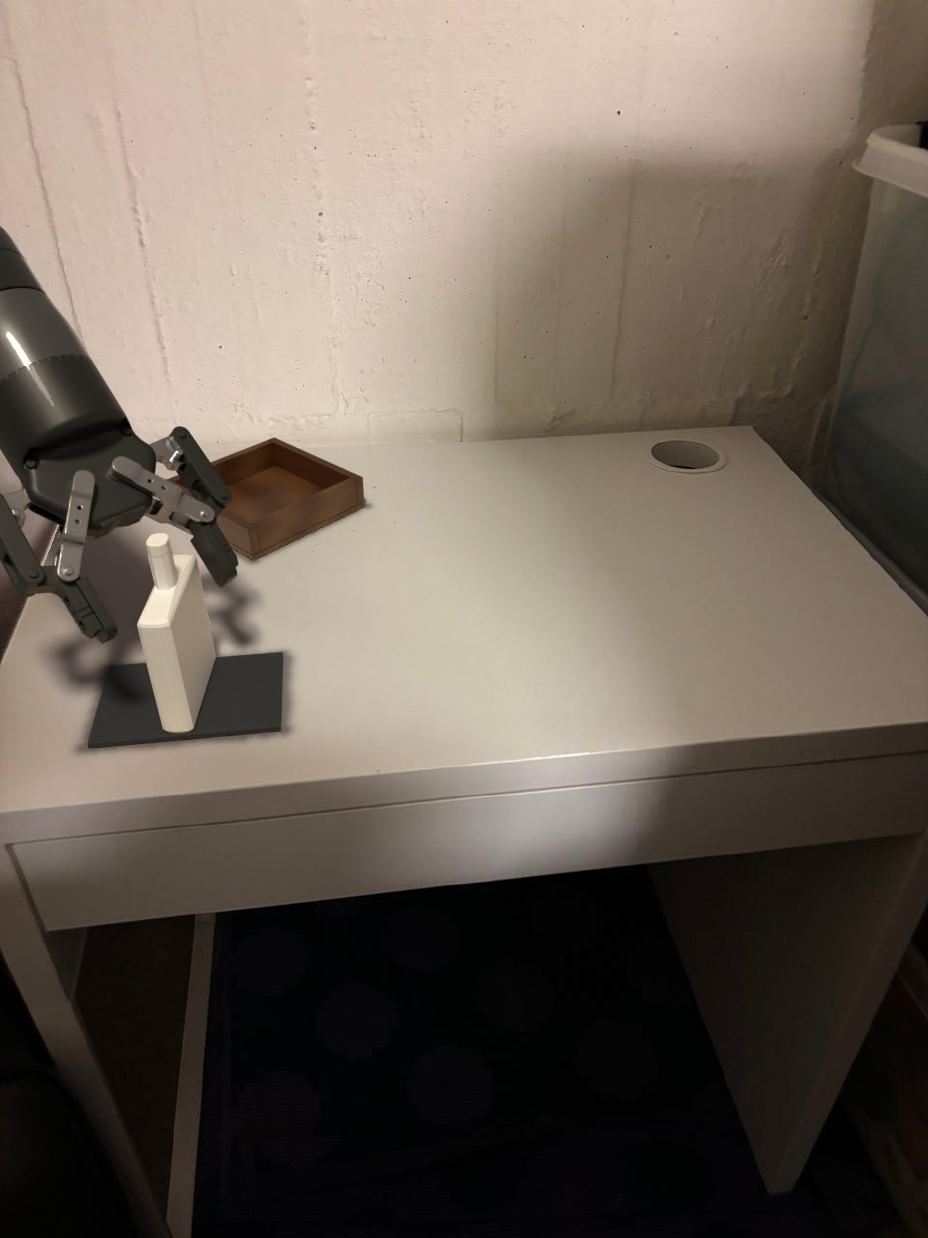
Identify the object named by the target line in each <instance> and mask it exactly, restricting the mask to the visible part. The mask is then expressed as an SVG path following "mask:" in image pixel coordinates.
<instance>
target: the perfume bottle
mask: <svg viewBox="0 0 928 1238" xmlns="http://www.w3.org/2000/svg"><path fill="white" fill-rule="evenodd" d="M145 546H146V549H147V557H148V561H149V566H150V571H151V575H152V579H153V584H154V585H153V587H152V589H151V592H150V594H149V597H148V598H147V601H146V603H145V605H144V608H143V610H142V612H141V614H140V617H139V619H138V621H137V623H136V628H137V632H138V635H139V640H140V645H141V648H142V651H143V656H144V659H145V663H146V664H147V667H148V671H149V675H150V679H151V683H152V687H153V691H154V695H155V699H156V703H157V707H158V711H159V715H160V719H161V723H162V727H163V729H164V730H165V731H167V732H169V733H186V732H189V731H192V730H193V729H194V726H195V723H196V719H197V716H198V713H199V710H200V707H201V703H202V700H203V697H204V694H205V691H206V687H207V684H208V681H209V678H210V675H211V671H212V668H213V665H214V662H215V659H216V657H217V653H216V649H215V643H214V639H213V635H212V634H213V633H212V629H211V623H210V619H209V614H208V608H207V604H206V603H207V602H206V597H205V593H204V587H203V582H202V578H201V573H200V567H199V562H198V558H197V556H196V555H194V554H189V553H182V554H181V553H180V554H179V553H177V554H173V549H172V545H171V541H170V536H169V534H167V533H166V532H156V533H154V534H151V535H149V536H148V537H147V540H146V541H145Z"/></svg>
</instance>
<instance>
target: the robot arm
mask: <svg viewBox="0 0 928 1238" xmlns="http://www.w3.org/2000/svg"><path fill="white" fill-rule="evenodd" d="M0 452H1V453H2V455H3V456H4V458H5V460H6V461H7V463H8V464H9V466H10V468H11V469H12V471H13V473H14V474H15V476H17V478H18V480H19V481H20V484H21V489H19V490H15V491H12V492H8V493H4V494H2V493H1V492H0V563H1V564H2V566H3V569H4V570H5V572H6V574H7V575H8V577H9V580H10V582H11V583H12V585H13V587H14V589H15V590H16V593H18V595H19V596H21V597H23V598H32V597H34V596H35V595H37V594H38V595H39V594H52V595H55V596H57V597H59V599H60V600H61V602H62V603H63V604H64V606H65V607H66V609H67V611H68V613H69V614H70V616H71V617H72V619H73V621H74V622H75V624H76V625H77V627H78V629H79V630H80V632H81V633H82V635H84V636H85V637H87V638H88V639H89V640H92V639H94V638H96V639H97V641H98V642H99V643H100V644H102V645H104V644H106V643H108V642H110V641H112V640H114V639H115V638H116V637H117V635H118V634H119V632H120V631H119V627H118V624H117V623H116V621H115V620H114V618H113V616H112V615H111V614H110V611H109V610H108V608H107V606H106V605H105V604H104V602H103V600H102V599H101V597H100V596H99V594H98V592H97V591H96V589H95V587H94V586H93V584H92V583H91V580H89V578H88V576H86V577H83V578H82V577H81V575H80V571H81V565H82V560H83V551H84V547H85V544H86V539H87V538H93V539H94V540H95V541H96V540H99V539H101V538H103V537H106V536H107V535H108V534H110V533H111V532H112V531H114V530H115V529H118V528H124V527H130V526H132V525H135V524H137V523H139V522H140V521H141V520H142V519H143V518H144V517H146V518H148V519H150V520H152V521H154V522H156V523H158V524H163V525H164V524H168V525H170V526H173V527H175V528H177V529H178V530H180V531H183V532H185V533H187V534H189V535H191V536H192V538H191V539H190V540H189V541H190V543H191V545H192V547H193V548H194V549H195V551H196V553H197V555H198V556H199V558H200V560H201V561H202V563H203V565H204V567H206V569H207V571H208V573H209V574H210V576H211V577H212V579H213V580H214V582H215V584H216V585H217V586H218V587H219V588H222V587H225V586H226V585H228V584H230V583H232V581H234V580H235V579H236V578H237V576H238V570H237V567H238V566H239V564H240V563H239V560H238V559H239V558H238V556H237V554H236V553H235V551H234V549H233V548H231V546H230V545H229V543H228V541H227V540H226V538H225V536H224V535H223V533H222V532H221V530H220V528H219V527H218V525H217V517H218V516H219V515H220V514H221V513H222V511H223V510H224V509H225V507H226V506H227V505H228V504H229V503H230V502H231V500H232V493H231V491H230V490H229V489H228V487H227V486H226V484H225V483H224V481H223V480H222V478H221V477H220V475H219V474H218V473H217V471H216V470H215V468H214V467H213V465H212V464H211V462H212V461H210V460H209V458H208V457H207V455H206V454H205V452H204V450H203V449H202V448H201V446H200V445H199V443H198V442H197V440H196V439H195V438H194V436H193V435H192V434H191V431H190V430H189V429H188V428H187V427H185V426H181V425H178V426H175V427H174V428H173V429H172V430H171V432H170V433H169V435H168V436H167V435H166V436H165V437H163V438H161V439H158V440H156V441H153V442H152V443H147V442H146V441H144V440H143V439H142V438H140V436H138V435H137V434H136V432H135V431H134V430H133V427H132V425H131V423H130V420H129V418H128V416H127V414H126V412H125V411H124V409H123V408H122V406H121V404H120V403H119V401H118V399H117V398H116V396H115V395H114V393H113V392H112V390H111V389H110V387H109V385H108V383H107V382H106V380H105V379H104V377H103V375H102V373H101V372H100V370H99V368H98V367H97V365H96V363H94V361H93V359H92V358H91V355H90V354H89V352H88V351H87V350H86V348H85V346H84V344H83V343H82V341H81V339H80V338H79V336H78V334H77V333H76V331H75V330H74V328H73V327H72V325H71V323H69V321H68V319H66V318H65V316H64V314H63V313H61V311H59V309H58V308H57V307H56V305H55V304H54V302H53V301H52V300H51V298H50V297H49V296H48V294H47V292H46V290H45V289H44V287H43V286H42V283H41V282H40V281H39V279H38V278H37V276H36V274H35V273H34V272H33V269H32V268H31V267H30V265H29V263H28V262H27V259H26V258H25V256H24V254H23V253H22V251H21V250H20V248H19V246H18V245H17V244H16V242H15V240H14V239H13V238H12V236H11V235H10V234H9V232H7V230H6V229H5V228H3V227H2V226H1V225H0ZM157 463H160V464H162V465H163V466H164V467H165V468H166V470H168V471H169V472H170V471H172V472H174V471H175V473H176V475H179V477H180V478H181V479H182V481H183V482H184V484H185V485H186V487H187V488H188V490H189V491H190V492H191V494H192V495H193V497H194V498H195V499H194V498H192V497H190V496H188V495H187V494H185V493H184V491H183V489H182V488H181V487H179V486H177V485H175V484H173V483H171V482H169V481H167V480H166V478H163V477H162V476H160V475H158V474H156V469H157ZM26 510H29V511H30V512H32V513H34V514H36V515H38V516H40V517H42V518H43V519H46V520H47V521H50V522H52V523H54V524H56V525H58V527H57V533H56V539H55V540H56V541H55V546H54V553H53V564H52V565H41V563H40V561H39V559H38V557H37V555H36V553H35V552H34V550H33V548H32V546H31V544H30V543H29V540H28V539H27V537H26V535H25V533H24V532H23V528H24V525H25V522H26V520H27V516H26V514H25V511H26Z"/></svg>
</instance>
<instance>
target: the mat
mask: <svg viewBox="0 0 928 1238" xmlns="http://www.w3.org/2000/svg"><path fill="white" fill-rule="evenodd" d="M283 670H284V653H283V651H276V652H265V653H264V652H263V653H262V652H261V653H251V654H250V653H249V654H238V655H228V656H227V655H226V656H216V659H215V662H214V665H213V668H212V671H211V675H210V678H209V681H208V684H207V687H206V691H205V694H204V697H203V700H202V703H201V707H200V710H199V713H198V716H197V719H196V723H195V726H194V729H193V730H192V731H189V732H186V733H169V732H167V731H165V730H164V729H163V727H162V723H161V719H160V715H159V711H158V707H157V703H156V699H155V695H154V691H153V687H152V683H151V679H150V675H149V671H148V667H147V664H146V662H140V663H127V664H126V663H125V664H115V665H108V668H107V672H106V675H105V678H104V682H103V685H102V690H101V692H100V697H99V700H98V704H97V708H96V711H95V715H94V718H93V722H92V726H91V728H90V733H89V736H88V739H87V748H88V749H95V748H106V747H117V746H127V745H128V746H130V745H139V744H150V743H151V744H152V743H161V742H172V741H184V740H193V739H195V740H196V739H205V738H206V739H207V738H218V737H228V736H229V737H230V736H238V735H249V734H261V733H272V732H281V730H282V704H283V703H282V701H283Z"/></svg>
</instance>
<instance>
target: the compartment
mask: <svg viewBox="0 0 928 1238" xmlns="http://www.w3.org/2000/svg"><path fill="white" fill-rule="evenodd" d="M210 462H211V464H212V465H213V467H214V468H215V470H216V471H217V473H218V474H219V475H220V477H221V478H222V480H223V481H224V483H225V484H226V486H227V487H228V489H229V490H230V491H231V493H232V500H231V502H230V503H229V504H228V505H227V506H226V507H225V509H224V510H223V511H222V513H221V514H220V515H219V516H218V517H217V525H218V527H219V528H220V530H221V532H222V533H223V535H224V536H225V538H226V540H227V541H228V543H229V545H230V546H231V548H232V550H235V551H236V552H238V553H240V554H242V555H243V556H245V557H247V558H248V559H250V560H252V561H255V560H257V559H260V558H261V557H263V556H266V555H268V554H270V553H273V551H276V550H278V549H280V548H282V547H284V546H286V545H288V544H290V543H292V542H294V541H297V540H299V539H301V538H303V537H304V536H307V535H310V534H311V533H313V532H315V531H317V530H319V529H321V528H323V527H325V526H328V525H329V524H331V523H334V522H336V521H338V520H340V519H342V518H344V517H346V516H348V515H350V514H352V513H354V512H357V511H359V510H360V509H363V508H365V507H366V505H365V489H364V477H363V476H361V475H359V474H357V473H355V472H352V471H351V470H348V469H346V468H344V467H341V466H339V465H337V464H335V463H333V462H330V461H328V460H326V459H323V458H322V457H319V456H317V455H315V454H312V453H310V452H308V451H306V450H304V449H301V448H299V447H297V446H295V445H292V444H290V443H288V442H287V441H283V440H281V439H279V438H277V437H275V436H274V437H271V438H268V439H266V440H264V441H261V442H258V443H256V444H253V445H251V446H248V447H246V448H244V449H243V448H242V449H241V450H239V451H238V450H237V451H235V452H233V453H231V454H228V455H225V456H223V457H220V458H217V459H215V460H213V461H210ZM165 480H167V481H169V482H171V483H173V484H175V485H177V486H179V487H181V488H182V489H183V491H184V493H185V494H187V495H188V496H190V497H192V498H194V497H193V495H192V494H191V492H190V491H189V490H188V488H187V487H186V485H185V484H184V482H183V481H182V479H181V478H180V477H179V475H178V474H176V475H174V476H171V477H169V478H165ZM194 499H195V498H194Z"/></svg>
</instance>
